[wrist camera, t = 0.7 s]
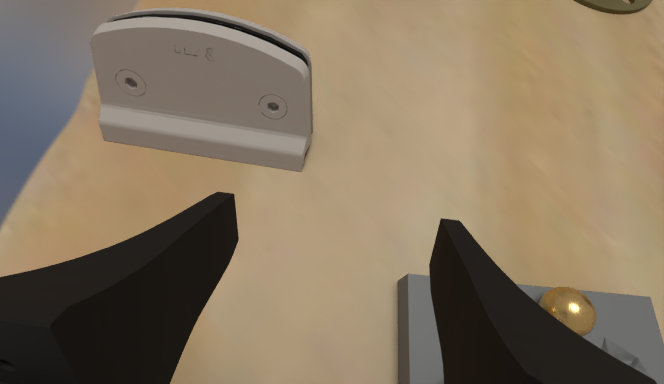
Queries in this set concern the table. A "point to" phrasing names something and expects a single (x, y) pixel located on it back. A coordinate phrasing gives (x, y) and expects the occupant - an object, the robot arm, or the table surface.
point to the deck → (611, 309)
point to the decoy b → (570, 309)
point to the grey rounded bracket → (204, 86)
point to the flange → (615, 5)
